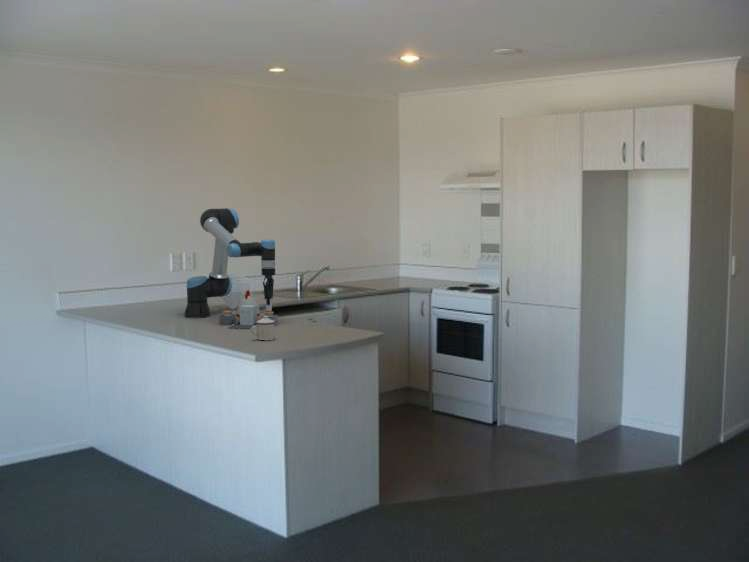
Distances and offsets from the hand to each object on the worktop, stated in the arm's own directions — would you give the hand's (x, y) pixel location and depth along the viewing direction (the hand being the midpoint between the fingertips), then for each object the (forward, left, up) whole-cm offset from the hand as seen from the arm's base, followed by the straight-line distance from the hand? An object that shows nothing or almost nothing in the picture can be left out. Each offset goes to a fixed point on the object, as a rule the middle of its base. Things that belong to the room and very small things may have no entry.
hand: (268, 310), depth 447 cm
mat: (+11, -12, -8) cm, 18 cm away
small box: (0, -12, -8) cm, 14 cm away
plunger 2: (0, 0, -7) cm, 7 cm away
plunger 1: (0, -24, -7) cm, 25 cm away
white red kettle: (-31, -23, -8) cm, 40 cm away
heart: (-57, -42, -8) cm, 71 cm away
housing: (0, -12, -8) cm, 14 cm away
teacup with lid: (+45, +11, -8) cm, 47 cm away
